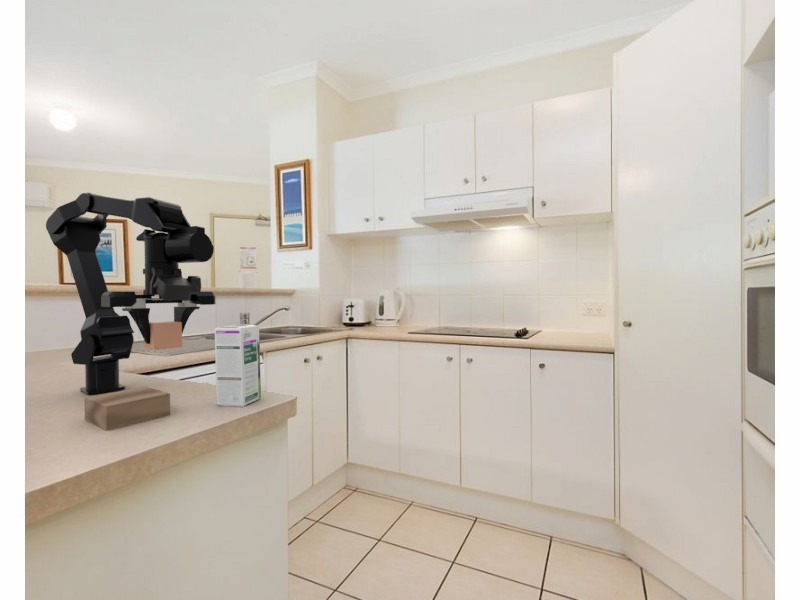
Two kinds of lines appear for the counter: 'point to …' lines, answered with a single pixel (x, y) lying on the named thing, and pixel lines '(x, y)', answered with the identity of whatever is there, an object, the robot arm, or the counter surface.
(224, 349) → the syrup box
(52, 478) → the counter surface
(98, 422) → the walnut block
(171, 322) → the terracotta cube
